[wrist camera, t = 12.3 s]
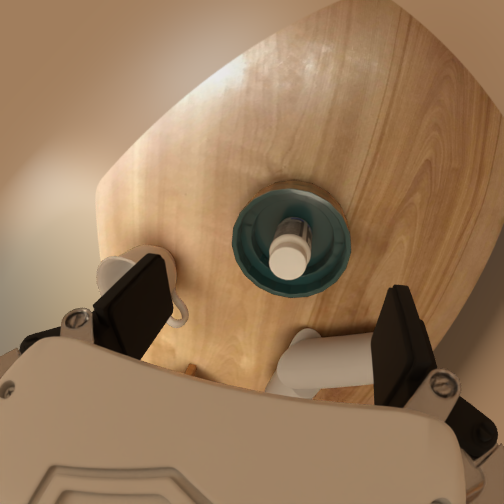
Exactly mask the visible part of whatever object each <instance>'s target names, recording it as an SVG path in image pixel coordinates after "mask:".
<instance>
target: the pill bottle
mask: <svg viewBox="0 0 504 504" xmlns="http://www.w3.org/2000/svg"><path fill="white" fill-rule="evenodd" d="M311 243H312V230H311V227H310V226H309V224H308V223H307V222H306V221H305V220H303V219H301V218H298V217H289V218H286V219H284V220H283V221H282V222H281V223H280V224H279V225H278V227H277V230H276V232H275V235H274V238H273V241H272V243H271V245H270V249H269V255H270V259H269V266H270V269H271V271H272V272H273V273H274V274H275V275H276V276H277V277H279V278H281V279H285V280H293V279H296V278H298V277H300V276H301V275H302V274H303V273H304V271H305V269H306V265H307V264H308V262H309V260H310V257H311Z"/></svg>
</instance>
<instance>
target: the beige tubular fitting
mask: <svg viewBox="0 0 504 504" xmlns="http://www.w3.org/2000/svg"><path fill="white" fill-rule="evenodd" d="M372 335H373V332H370V333H362V334H354V335H344V336H335V337H324V338H322V337H321V336H320V334H319V333H318V332H316V331H315V330H313V329H309V328H308V329H303V330H301V331H300V332H298V333H297V334H296V336H295V337H294V338H293V340H292V342H291V344H290V346H289V347H288V349H287V350H286V351H285V352H284V353H283V355H282V356H281V358H280V360H279V362H278V365H277V369H276V371H275V372H274V374H273V376H272V378H271V379H270V381H269V383H268V384H267V386H266V388H265V392H266V393H272V394H278V395H284V396H291V397H298V398H305V399H312V398H313V397H314V396H315V395H316V394H317V393H318V391H319V390H320V389H321V388H336V387H348V386H358V385H367V384H374V383H373V368H372V355H371V338H372Z"/></svg>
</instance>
